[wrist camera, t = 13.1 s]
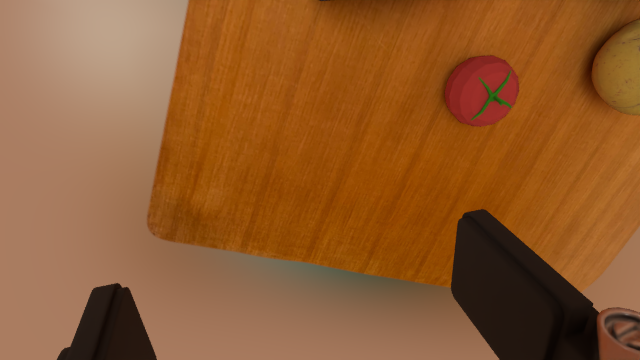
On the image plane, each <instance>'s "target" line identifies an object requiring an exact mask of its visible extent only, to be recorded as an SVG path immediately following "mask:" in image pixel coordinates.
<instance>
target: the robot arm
mask: <svg viewBox="0 0 640 360" xmlns="http://www.w3.org/2000/svg"><path fill="white" fill-rule="evenodd" d="M451 291H452V294H453V296H454V298H455V300H456V301H457V302H458V304H459V305H460V306H461V308H462V309H463V311H464V312H465V313H466V314H467V316H468V317H469V319H470V320H471V321H472V323H473V324H474V325H475V327H476V328H477V329H478V331H479V332H480V334H481V335H482V336H483V338H484V339H485V340H486V342H487V343H488V344H489V346H490V347H491V349H492V350H493V351H494V353H495V354H496V355H497V357H498V358H499V359H500V360H640V312H636V311H633V310H630V309H625V308H608V309H605V310H603V311H601V312H600V313H599V312H598V311H597V310H596V309H595V308H593V307H592V306H593V303H592V302H591V301H590V300H589V299H587V298H586V297H585V296H584V295H583V294H582V293H580V292H579V291H578V290H577V289H576V288H575V287H574V286H572V285H571V284H570V283H569V282H568V281H567V280H566V279H564V278H563V277H562V276H561V275H560V274H559V273H558V272H556V271H555V270H554V269H553V268H552V267H551V266H550V265H548V264H547V263H546V262H545V261H544V260H543V259H542V258H540V257H539V256H538V255H537V254H536V253H535V252H533V251H532V250H531V249H530V248H529V247H528V246H527V245H525V244H524V243H523V242H522V241H521V240H520V239H519V238H517V237H516V236H515V235H514V234H513V233H512V232H511V231H509V230H508V229H507V228H506V227H505V226H504V225H503V224H501V223H500V222H499V221H498V220H497V219H496V218H495V217H493V216H492V215H491V214H490V213H489V212H488V211H486V210H484V209H481V210H476V211H471V212H466V213H464V214H463V216H462V218H461V219H459V221H458V226H457V235H456V244H455V254H454V263H453V272H452V282H451ZM57 360H157V359H156V355H155V352H154V350H153V347H152V345H151V342H150V340H149V337H148V335H147V332H146V330H145V327H144V325H143V322H142V320H141V318H140V314H139V312H138V309H137V307H136V305H135V302H134V299H133V297H132V294H131V292H130V290H129V288H128V287H124V288H122V287H121V285H120V284H118V283H116V284H111V285H106V286H101V287H96V288H94V289H93V290H92V292H91V294H90V297H89V300H88V302H87V305H86V307H85V310H84V313H83V315H82V318H81V321H80V324H79V326H78V328H77V331H76V334H75V336H74V339H73V341H72V344H71V347H68V348H65V349H63V350H62V351H61V353H60V355H59V356H58V358H57Z"/></svg>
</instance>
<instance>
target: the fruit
mask: <svg viewBox="0 0 640 360" xmlns="http://www.w3.org/2000/svg"><path fill="white" fill-rule="evenodd" d="M592 81H593V85H594V87H595V89H596V91H597V93H598V94H599V96H600V97H601V98H602V99H603V100H604V101H605V102H606V103H607V104H608V105H609V106H611V107H612V108H614V109H615V110H617V111H620V112H622V113H625V114H629V115H637V116H640V19H637V20H635V21H632V22H630V23H629V24H627V25H625V26H624V27H622V28H621V29H620V30H619V31H617V32H616V33H615V34H614V35H612V36H611V37H610V38H609V39H608V41H607V42H606V43H605V44H604V45H603V46H602V47H601V49H600V50H599V52H598V53H597V55H596V57H595V59H594V62H593V67H592Z"/></svg>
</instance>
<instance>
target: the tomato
mask: <svg viewBox="0 0 640 360" xmlns="http://www.w3.org/2000/svg"><path fill="white" fill-rule="evenodd" d="M518 92H519V83H518V76H517V75H516V73H515V72H514V70H513V69H512V67H511V66H510V65H509V64H508V63H507V62H506V61H505V60H502V59H500V58H497V57H495V56H479V57H473V58H469V59H468V60H466V61H465V62H463V63H462V64H460V65H459V66H457V67H456V69H455V70H454V72H453V73H452V75H451V76H450V77H449V79H448V82H447V86H446V90H445V98H446V104H447V107H448V108H449V109H450V111H451V112H452V113H453V114H454V116H455V117H456V118H457V119H458V120H459V121H460V122H462V123H465V124H468V125H471V126H480V127H481V126H486V125H491V124H494V123H496V122H497V121H499V120H500V119H502V118H503V117H505V116H506V115H507V113H508V112H509V111H510V109H511V108H512V107H513V105H514V104H515V101H516V98H517V95H518Z"/></svg>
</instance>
